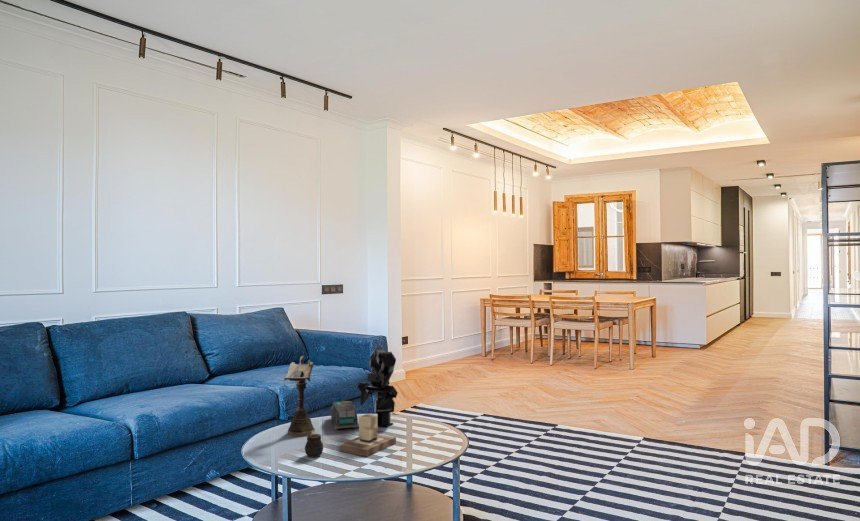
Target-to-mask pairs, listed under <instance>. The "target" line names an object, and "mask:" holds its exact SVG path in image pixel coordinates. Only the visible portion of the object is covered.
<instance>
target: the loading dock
mask: <svg viewBox="0 0 860 521" xmlns="http://www.w3.org/2000/svg"><path fill="white" fill-rule="evenodd" d="M396 443H397V437H396V436H393V435H386V434H379V433H378V437H377V440H373V439H372V441H371V442H364V441H360V440H359V436H358V437H355V438H353V439H350V440H347V441H345V442H343V443H340V444H339V452H345V453H349V454H354V455H359V456H366V457H369V456H371V455H373V454H376V453H378V452H380V451H382V450H385V449H386V448H389V447H390V446H393V445H395V444H396Z"/></svg>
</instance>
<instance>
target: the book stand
mask: <svg viewBox="0 0 860 521" xmlns="http://www.w3.org/2000/svg"><path fill="white" fill-rule="evenodd" d="M304 360H305V355H302V356H300V357H299V363H298V364H296V362H295V361H294V362H293V361H292V362H290V364H289V367H288V372H287V374H286V376H285V377H284V378H283V382H282V383H285V381H290V382H295V385H296V386H295V389H296V390H297V391H298V397H297V400H298V407H297V408H296V410H295V413H294V414H293V415H294V416H293V417H292V419H291V422H290V425H289V427H288V430H287V435H289V436H290V437H307V436H308V434H309V435H311V434H315V433H316V428H315V427H314V425H313V423H312V418H311V417H310V416H309V413H308V412H307V409H306V408H305V407H304V403H305V390H306V389H307V385H308V383H307V381H308V382H309V383H310V382H311V374H312V372H313V368H314V362H312V361H311V360H309V359H308V362H307V364H305V362H304ZM306 380H307V381H306ZM305 430H306V432H308V434H307V433H306V432H305Z"/></svg>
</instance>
